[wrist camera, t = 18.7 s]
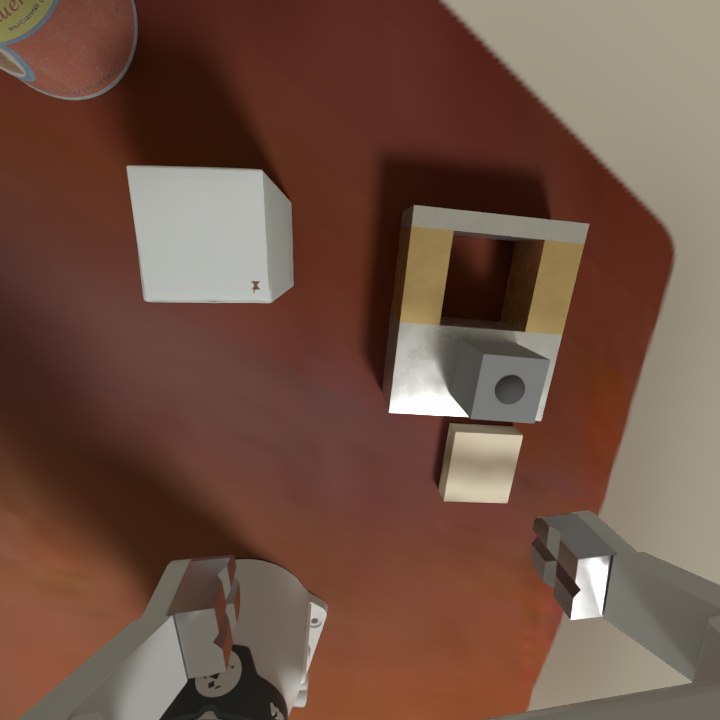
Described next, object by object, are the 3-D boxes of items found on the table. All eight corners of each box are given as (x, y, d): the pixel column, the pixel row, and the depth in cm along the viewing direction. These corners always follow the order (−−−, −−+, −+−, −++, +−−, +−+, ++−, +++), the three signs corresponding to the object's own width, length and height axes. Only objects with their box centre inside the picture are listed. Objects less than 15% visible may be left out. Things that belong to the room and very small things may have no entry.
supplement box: (293, 199, 32) (268, 166, 20) (294, 287, 34) (273, 307, 22) (204, 196, 31) (121, 160, 19) (211, 286, 33) (141, 305, 21)
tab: (499, 491, 41) (507, 503, 39) (438, 489, 41) (443, 501, 39) (513, 426, 39) (523, 435, 37) (449, 423, 39) (455, 432, 37)
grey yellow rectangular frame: (515, 400, 38) (541, 421, 34) (381, 391, 37) (388, 412, 32) (552, 227, 34) (589, 223, 29) (402, 211, 32) (414, 204, 28)
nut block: (504, 398, 33) (534, 424, 28) (450, 394, 32) (470, 419, 27) (517, 343, 31) (551, 360, 26) (460, 338, 31) (484, 354, 26)
